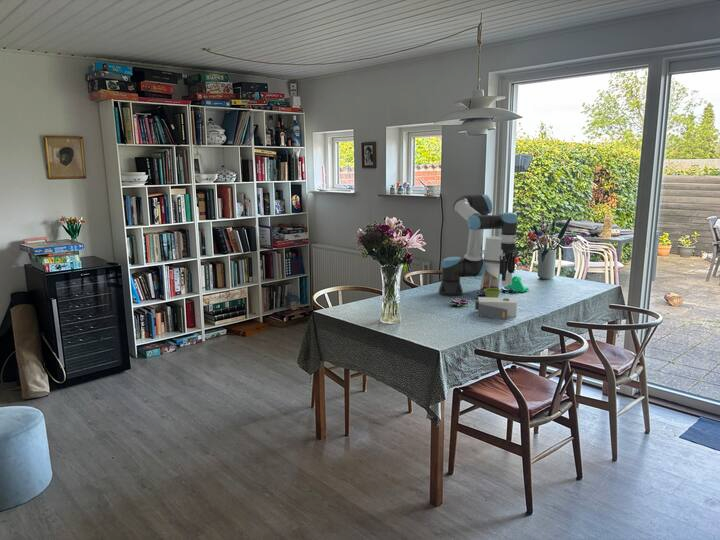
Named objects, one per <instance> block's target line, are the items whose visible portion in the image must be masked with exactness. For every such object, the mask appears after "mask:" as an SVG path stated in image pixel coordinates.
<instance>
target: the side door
mask: <svg viewBox="0 0 720 540" xmlns="http://www.w3.org/2000/svg"><path fill="white" fill-rule="evenodd" d="M507 310H508V309H504V308H499V307H494V306H489V305H484V304H479V315H483V316H482V317H489V318H494V319H497V320H502V321H507V320H508V317H507ZM479 315H478V316H479Z"/></svg>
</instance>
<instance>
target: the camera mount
mask: <svg viewBox="0 0 720 540" xmlns="http://www.w3.org/2000/svg"><path fill="white" fill-rule="evenodd" d="M507 288H511V289H514V290H515V291H517V292H516V293H520V292H521V293H522V292H527V291H529V290H530V287H528V286H524V285H523V283H522V278H521V276H520V275H514V276H512V285H507V287H506V289H507ZM511 289H510V290H511ZM519 291H520V292H519Z"/></svg>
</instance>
